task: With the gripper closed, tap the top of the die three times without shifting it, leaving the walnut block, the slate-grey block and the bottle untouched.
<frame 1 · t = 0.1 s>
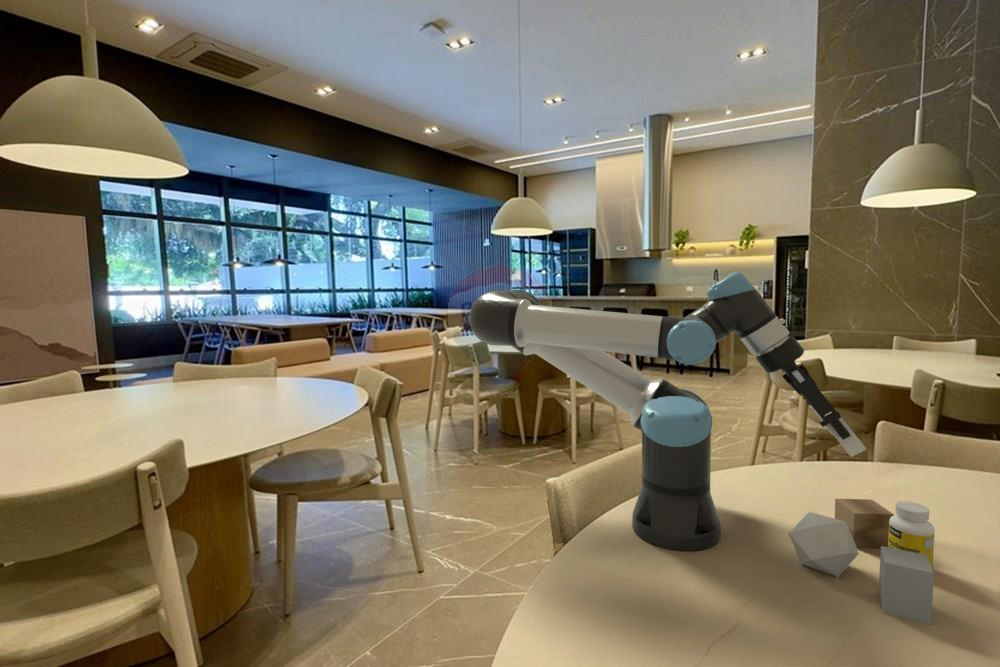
hand: (848, 441, 91), 15 cm above the table, tool tilted 35°, fingers open, 13 cm apart
supplement bottle: (909, 569, 78), on the table
grey block: (903, 608, 68), on the table
die: (822, 568, 79), on the table
walnut block: (862, 540, 87), on the table
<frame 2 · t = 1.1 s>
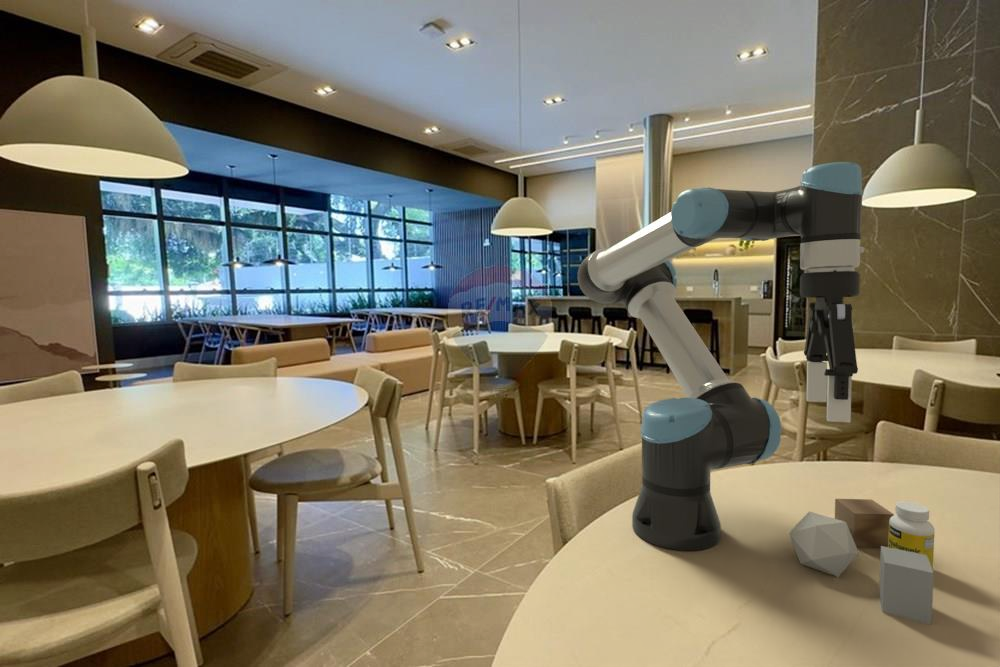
hand: (826, 410, 77), 25 cm above the table, tool pointing down, fingers open, 13 cm apart
nothing on the table moved.
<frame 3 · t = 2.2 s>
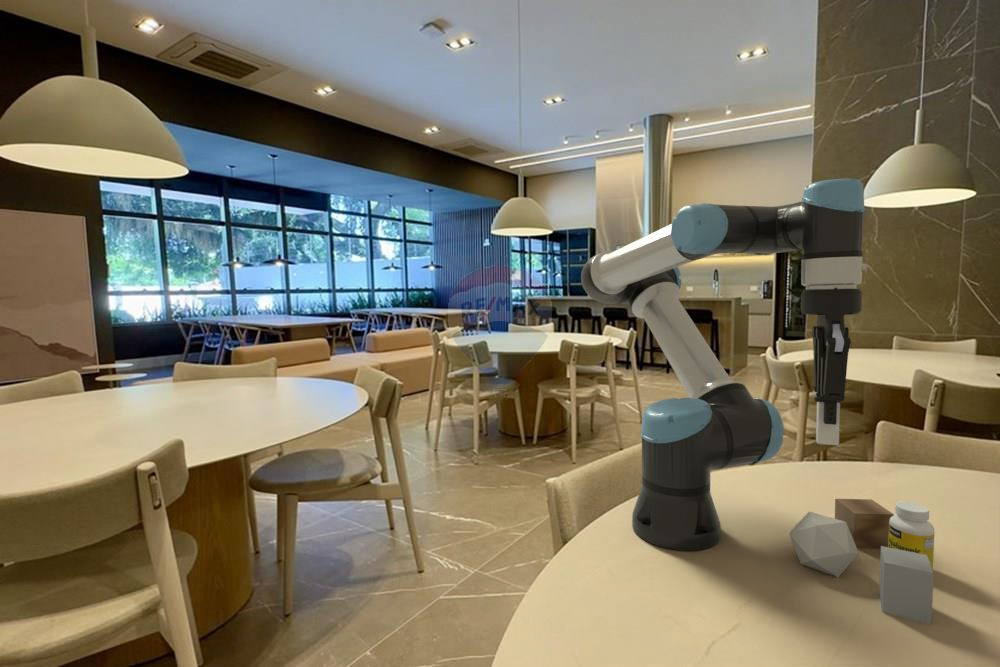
hand: (827, 443, 77), 20 cm above the table, tool pointing down, fingers closed
nothing on the table moved.
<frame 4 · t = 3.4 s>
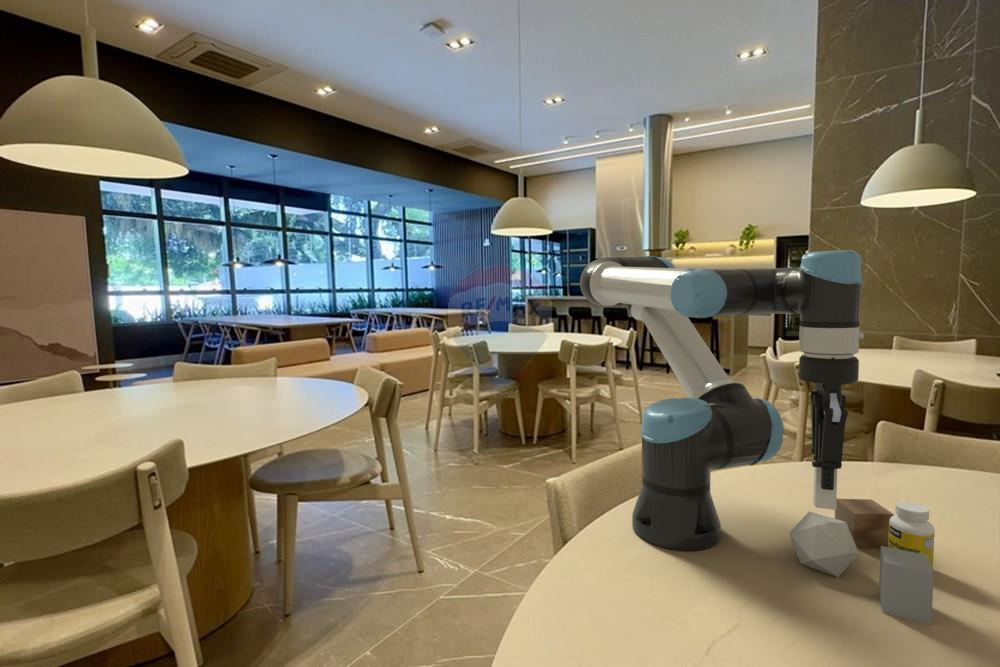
hand: (824, 506, 78), 10 cm above the table, tool pointing down, fingers closed
nothing on the table moved.
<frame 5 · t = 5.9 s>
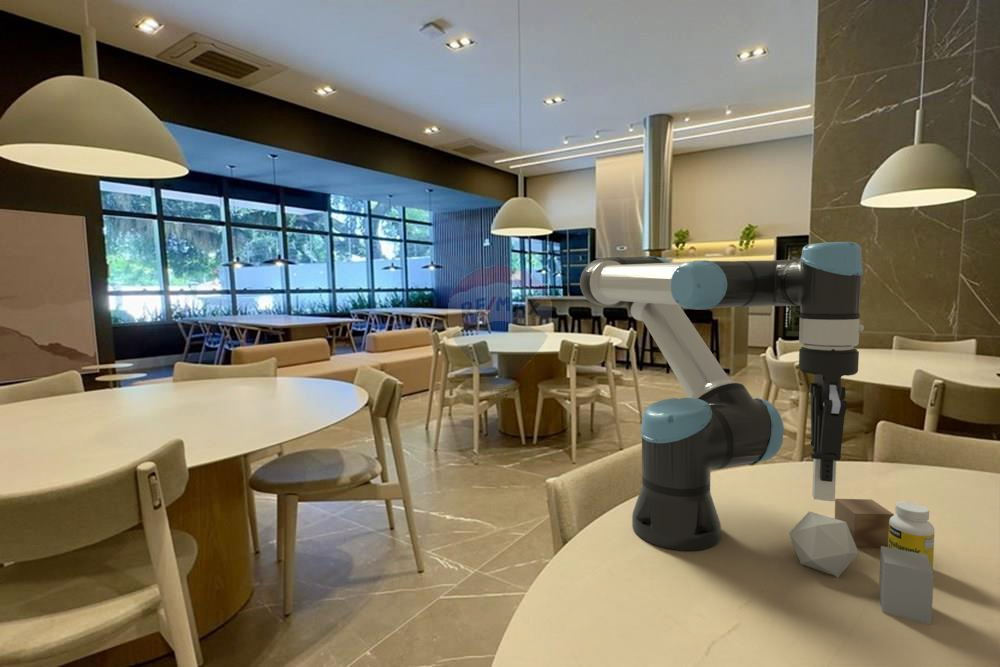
hand: (823, 498, 78), 11 cm above the table, tool pointing down, fingers closed
nothing on the table moved.
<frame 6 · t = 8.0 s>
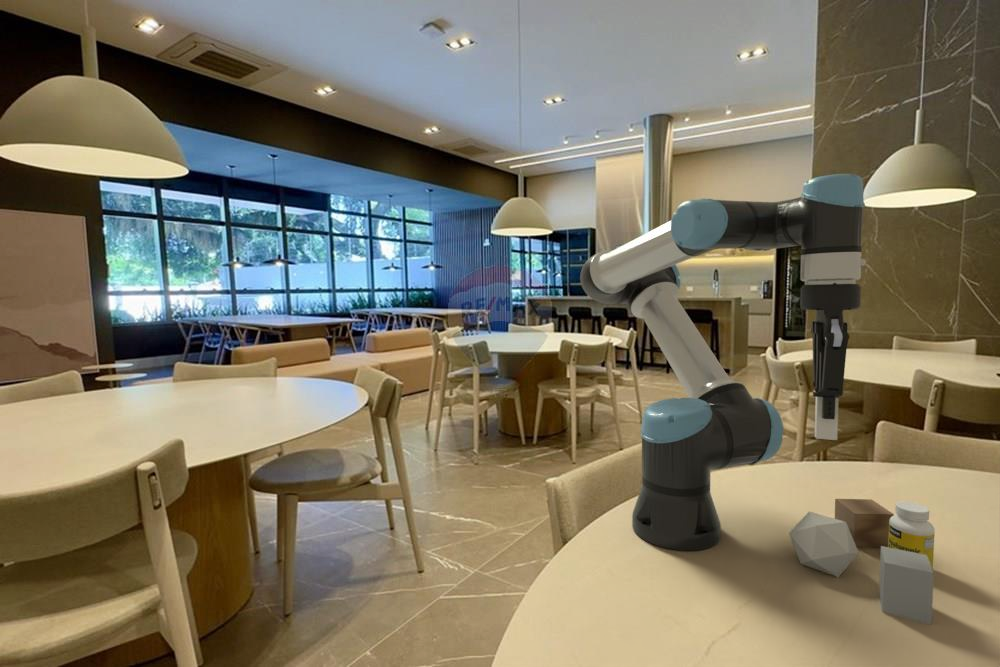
hand: (825, 437, 77), 20 cm above the table, tool pointing down, fingers closed
nothing on the table moved.
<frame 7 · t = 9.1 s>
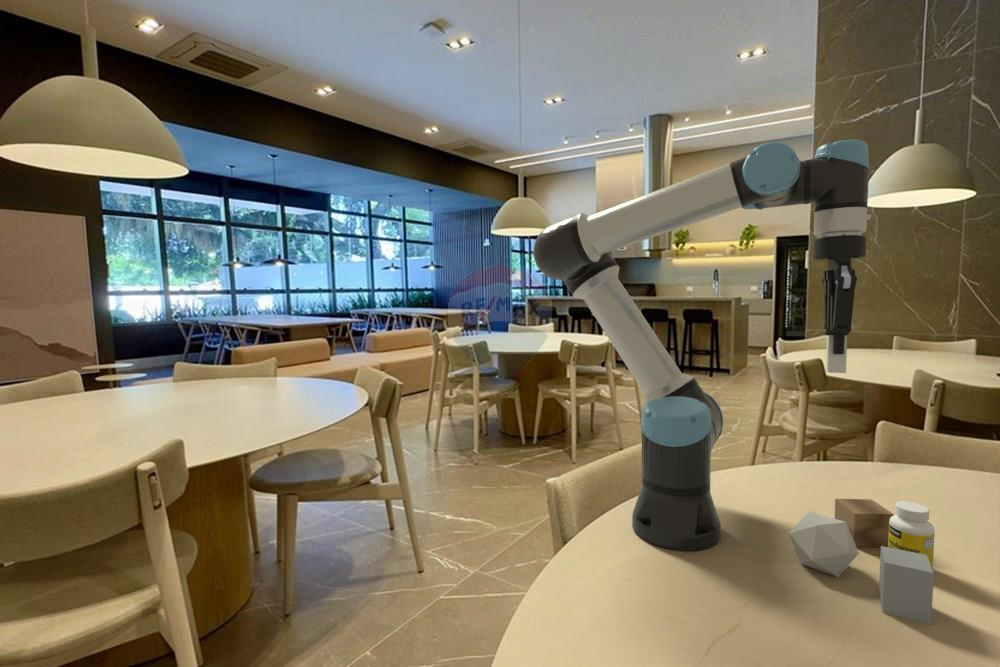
hand: (835, 372, 88), 28 cm above the table, tool pointing down, fingers closed
nothing on the table moved.
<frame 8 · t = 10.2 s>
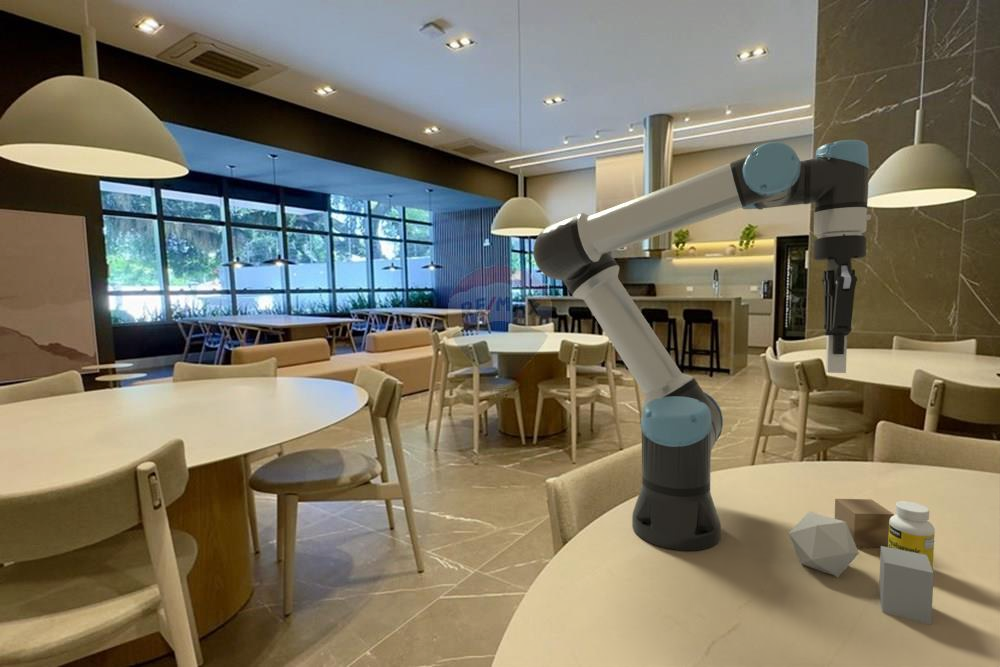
hand: (835, 372, 89), 28 cm above the table, tool pointing down, fingers closed
nothing on the table moved.
at the end: die moved 0.2 cm from its start; die tilted 0°; the gripper is holding nothing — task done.
